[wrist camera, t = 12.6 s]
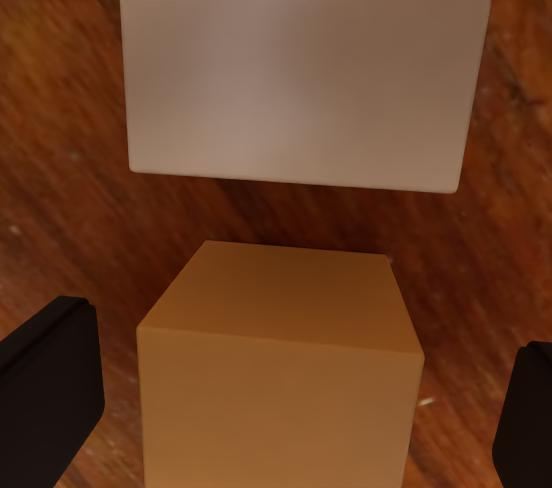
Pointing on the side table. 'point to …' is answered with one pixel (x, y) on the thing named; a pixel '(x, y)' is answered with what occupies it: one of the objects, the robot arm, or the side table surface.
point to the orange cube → (278, 371)
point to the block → (303, 89)
